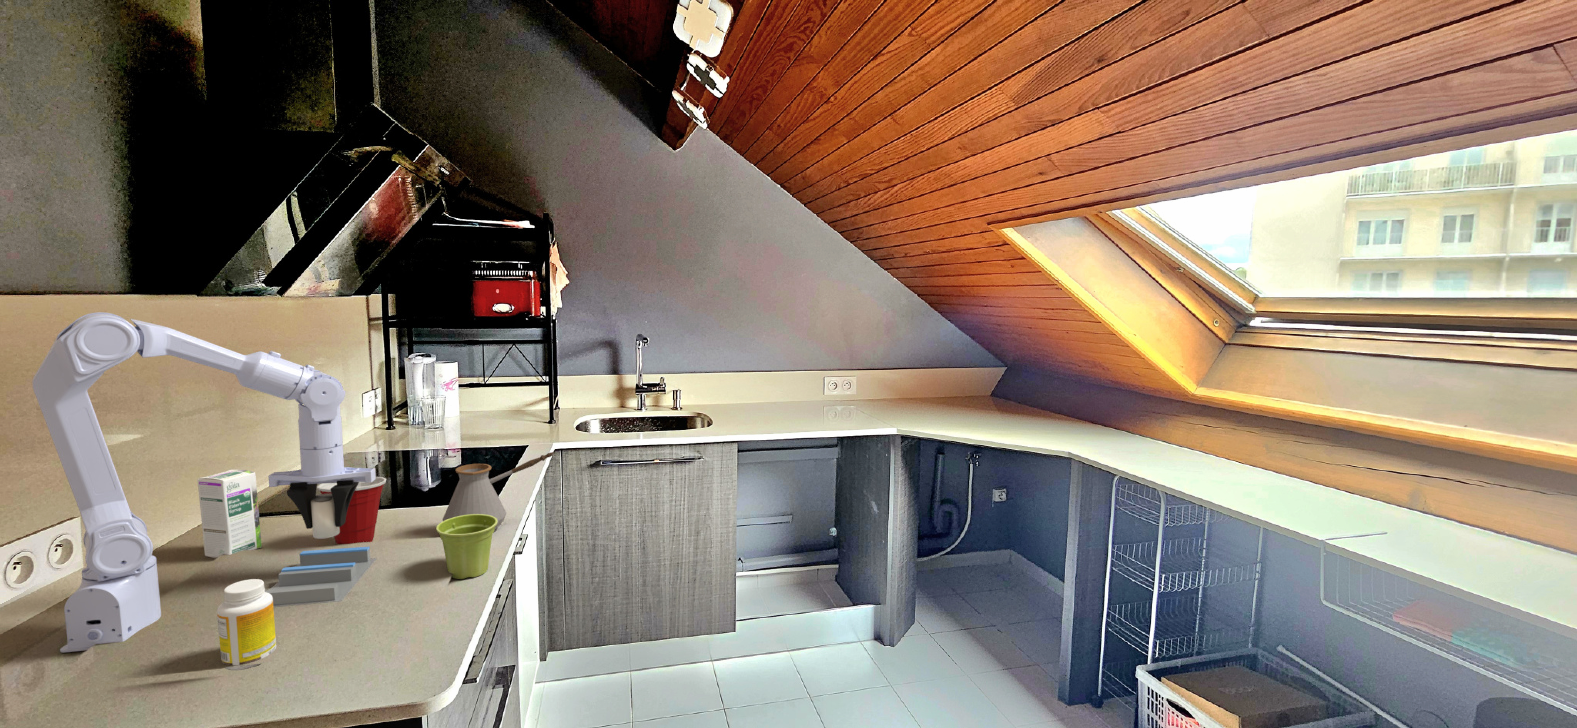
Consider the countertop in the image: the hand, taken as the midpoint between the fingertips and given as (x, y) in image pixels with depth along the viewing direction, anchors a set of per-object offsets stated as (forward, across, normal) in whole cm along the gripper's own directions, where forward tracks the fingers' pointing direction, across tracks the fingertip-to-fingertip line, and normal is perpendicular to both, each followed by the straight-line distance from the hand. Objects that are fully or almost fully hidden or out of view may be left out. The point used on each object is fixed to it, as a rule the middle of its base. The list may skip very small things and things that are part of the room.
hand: (326, 525), depth 108 cm
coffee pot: (+9, -24, -18) cm, 32 cm away
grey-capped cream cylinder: (+2, 0, 0) cm, 2 cm away
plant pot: (+9, -22, +3) cm, 24 cm away
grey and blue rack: (+9, 0, +4) cm, 10 cm away
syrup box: (+9, +20, -14) cm, 26 cm away
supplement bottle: (+9, 0, +25) cm, 27 cm away
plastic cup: (+9, +1, -15) cm, 18 cm away
